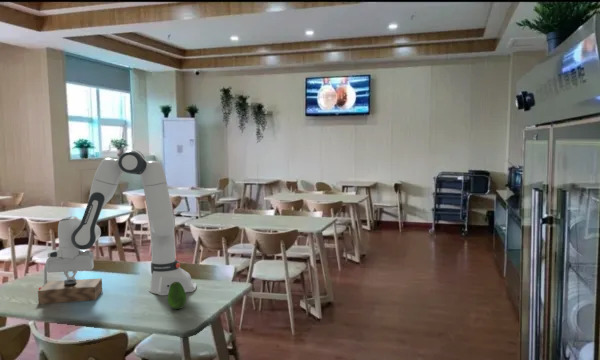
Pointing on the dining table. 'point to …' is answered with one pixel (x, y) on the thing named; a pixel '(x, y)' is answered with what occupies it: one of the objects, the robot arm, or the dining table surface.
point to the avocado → (176, 296)
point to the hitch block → (70, 291)
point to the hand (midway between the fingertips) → (70, 280)
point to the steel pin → (69, 283)
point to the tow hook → (44, 277)
